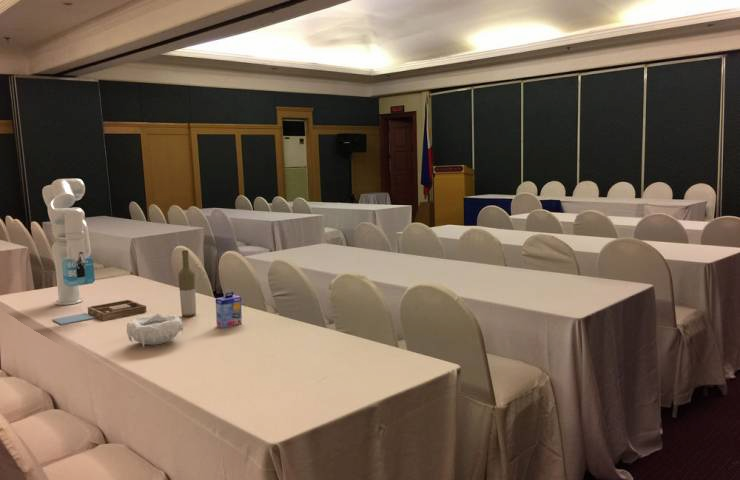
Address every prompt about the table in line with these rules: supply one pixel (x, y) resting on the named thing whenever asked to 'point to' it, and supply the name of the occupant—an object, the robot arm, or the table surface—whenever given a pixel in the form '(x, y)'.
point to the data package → (71, 272)
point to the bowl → (154, 328)
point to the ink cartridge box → (228, 310)
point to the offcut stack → (118, 308)
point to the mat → (73, 319)
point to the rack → (101, 310)
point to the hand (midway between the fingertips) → (78, 276)
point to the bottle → (187, 288)
